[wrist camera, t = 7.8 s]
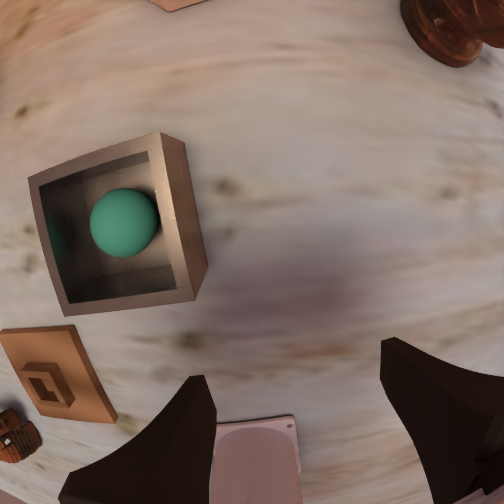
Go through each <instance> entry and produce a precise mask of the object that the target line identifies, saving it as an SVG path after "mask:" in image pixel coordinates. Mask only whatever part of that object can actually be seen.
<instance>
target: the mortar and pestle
mask: <svg viewBox="0 0 504 504" xmlns="http://www.w3.org/2000/svg"><path fill="white" fill-rule="evenodd" d="M402 13H403V16H404V19H405V22H406V26H407V28H408V30H409V31H410V33H411V35H412V36H413V37H414V38H415V40H416V42H417V43H418V44H419V46H420V47H421V48H422V49H423V50H424V51H425V52H427V53H428V54H429V55H431V56H432V57H434V58H435V59H437V60H439V61H440V62H443V63H445V64H447V65H450V66H453V67H464V66H467V65H469V64H471V63H472V62H473V61H474V60H475V59H476V58H477V56H478V55H479V54H480V52H481V50H482V44H483V42H484V43H486V44H488V45H490V46H492V47H495V48H503V49H504V0H402Z"/></svg>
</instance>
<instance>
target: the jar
mask: <svg viewBox="0 0 504 504" xmlns="http://www.w3.org/2000/svg"><path fill="white" fill-rule="evenodd" d="M150 1H151V2H153V3H155V4H156V5H158V6H160V7H161V8H163V9H165V10H166V11H169V12H170V11H174V10H177V9H179V8H182V7H185V6H188V5H192V4H195V3H198V2H201V1H205V0H150Z"/></svg>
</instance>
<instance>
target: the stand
mask: <svg viewBox="0 0 504 504" xmlns="http://www.w3.org/2000/svg"><path fill="white" fill-rule="evenodd" d="M0 341H1V344H2V346H3V348H4V350H5V352H6V354H7V356H8V358H9V360H10V362H11V364H12V366H13V368H14V370H15V372H16V374H17V376H18V378H19V380H20V381H21V383H22V385H23V387H24V388H25V390H26V392H27V394H28V395H29V397H30V399H31V400H32V402H33V404H34V405H35V407H36V408H37V410H38V412H39V413H40V415H42V416H48V417H54V418H61V419H69V420H77V421H86V422H97V423H110V424H115V423H116V421H117V418H118V416H117V414H116V412H115V410H114V409H113V407H112V405H111V403H110V401H109V399H108V397H107V396H106V394H105V392H104V390H103V388H102V386H101V384H100V382H99V380H98V378H97V376H96V374H95V372H94V370H93V367H92V365H91V363H90V361H89V359H88V357H87V354H86V352H85V350H84V347H83V345H82V343H81V340H80V338H79V336H78V333H77V331H76V328H75V326H74V325H67V326H54V327H39V328H23V329H4V330H2V331H0Z"/></svg>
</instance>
